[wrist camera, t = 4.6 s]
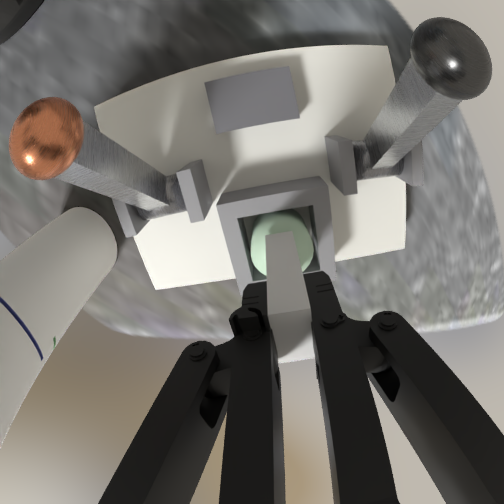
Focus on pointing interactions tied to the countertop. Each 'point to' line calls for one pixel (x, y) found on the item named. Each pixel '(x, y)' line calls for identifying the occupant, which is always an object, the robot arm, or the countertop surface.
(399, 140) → the lever
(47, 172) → the lever
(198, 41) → the countertop surface
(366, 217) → the panel
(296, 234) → the button
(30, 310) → the cylindrical container
